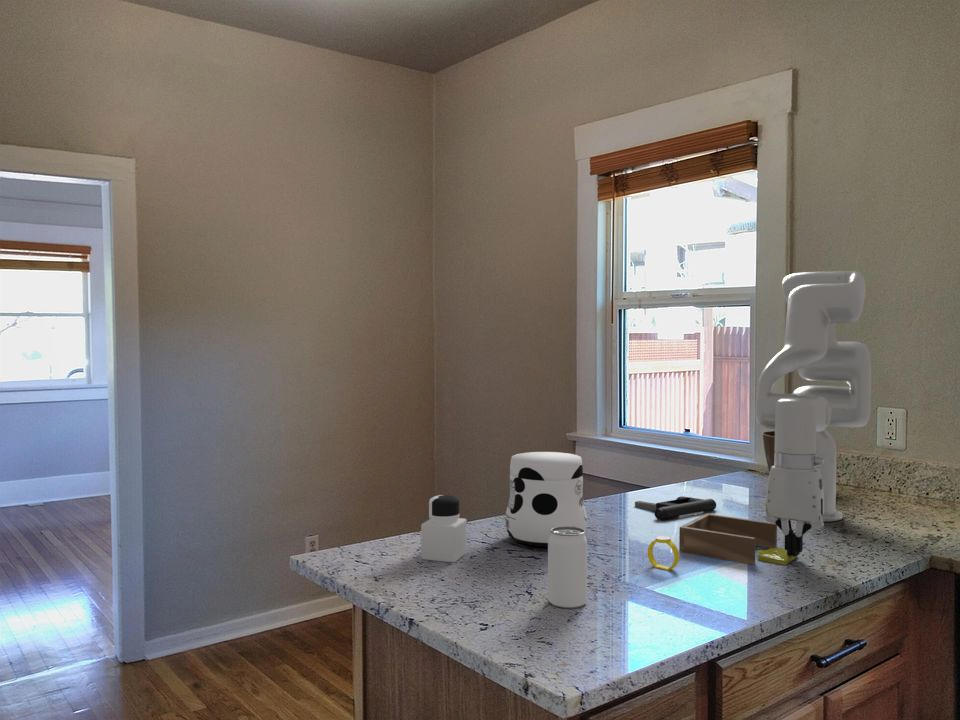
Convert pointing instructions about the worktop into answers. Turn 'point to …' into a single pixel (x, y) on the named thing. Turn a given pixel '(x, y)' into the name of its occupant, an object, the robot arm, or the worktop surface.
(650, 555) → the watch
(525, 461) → the milk container
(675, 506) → the door handle
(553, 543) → the can
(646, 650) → the worktop surface
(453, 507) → the medicine bottle
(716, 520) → the box
